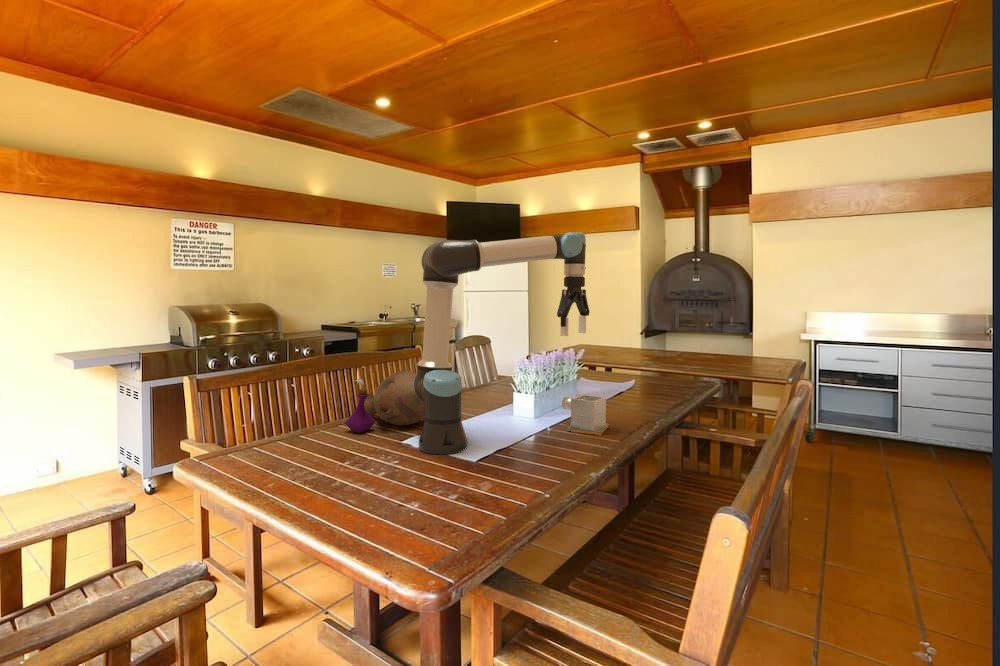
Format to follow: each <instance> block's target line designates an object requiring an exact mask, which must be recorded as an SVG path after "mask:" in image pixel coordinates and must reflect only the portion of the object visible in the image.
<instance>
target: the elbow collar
mask: <svg viewBox="0 0 1000 666" xmlns="http://www.w3.org/2000/svg"><path fill="white" fill-rule="evenodd" d="M561 408H562V409H563V410H568V411H570V425H571V427H575V428H580V429H586V430H591V431H595V430H597V429H599V428H601V427H603V426H605V423H606V418H607V416H606V415H607V413H606V412H607V397H604V396H603V397H602V396H598V395H590V394H580V395H578V396H575V397H568V396H564V397H563V398H562V400H561ZM606 424H607V423H606Z"/></svg>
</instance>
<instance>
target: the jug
mask: <svg viewBox="0 0 1000 666" xmlns="http://www.w3.org/2000/svg"><path fill="white" fill-rule="evenodd" d="M416 374H417V372H413V371H408V370H399V371H396V372H394V373H392V374H390V375H388V376H387V377H385V378H384V379H383V380H382V381H381V382H380V383H379V384H378V386H377V387H376V390H375V392H374V395H373V394H369V396H367V397H366V399H365V401H364V408H365V410H366V412H367V413H368V414H369V415H370V416H371V417H372V416H374V415H378V416H379V417H380V420H384V421H385V422H387V423H389V424H391V425H394V426H395V425H396V426H409V425H412V424H415V423H417V422H420V421H421V420H424V403H423V401H421V400H420V399H419V398H418V397H417V395H416V393H415V391H414V386H413V383H414V378H415V376H416Z"/></svg>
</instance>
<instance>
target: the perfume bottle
mask: <svg viewBox="0 0 1000 666" xmlns="http://www.w3.org/2000/svg"><path fill="white" fill-rule="evenodd" d="M353 383H354V385H355V386H356V385H357V384H359V385H361V387H362V388H359V389H358V393H357V394H356V397H358V399H359V400H358V403H357V406H356V408H355V410H354V411H353V413H352V414H351V415H350V416H349V417H348V418H347V419H346V421H344V424H345V425H346V426H347V428H348V429H349V430H350V431H351V432H353V433H358V434H362V433H365V432H369V431H370V430H371V428H372V427H373V426H374V425H375V423H376V419H374V417H372V416H370V415H369V414H368V413H367V412H366V410H365V408H364V401H365V399H366V397H367V396H369V395H370V394H369V393H368V388H364V384H365V383H364V380H363V379H360V378H359V379H356V380H354V381H353Z"/></svg>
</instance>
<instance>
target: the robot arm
mask: <svg viewBox="0 0 1000 666" xmlns="http://www.w3.org/2000/svg"><path fill="white" fill-rule="evenodd" d="M586 247H587V244H586V234H585V233H584V232H580V231H579V232H577V231H575V232H574V231H573V232H572V231H571V232H566V233H565V234H559V235H558V234H556V235H555V234H554V235H544V236H543V235H542V236H535V237H526V238H525V237H523V238H516V239H515V238H514V239H504V240H494V241H492V240H491V241H485V242H484V241H483V242H482V241H481V242H479V241H477V239H470V240H469V239H468V240H460V239H459V240H458V239H457V240H455V239H445V240H441V241H436V242H434V243H431V244H429V246H427V247H426V248H425V250H424V252H423V253H422V255H421V268H422V270H423V273H422V283H423V285H425V287H426V298H425V312H424V313H425V315H424V326H423V327H424V329H423V344H422V359H421V360H419V361H418V362H417V364H416V376H415V378H414V383H413V386H414V391H415V393H416V395H417V397H418V398H419V399H420V400H421V401H423V403H424V418H423V420H424V421H423V422H424V423H423V427H422V429H421V432H420V436H419V438H418V449H419V450H420V451H421V452H423V453H426V454H430V455H431V454H432V455H451V453H452V454H457V453H460V452H462V451H461V450H463V449H465V448H466V447H467V448H468V438H467V434H466V432H465V428H464V425H463V420H462V419H463V418H462V417H463V414H462V409H463V407H462V406H463V405H462V398H463V396H462V395H463V394H462V392H463V391H462V390H463V381H462V377H461V375H460V374H459V373H458V372H456V371H453V365H452V364H451V362H450V361H449V353H450V352H449V350H450V338H451V337H450V335H451V322H452V309H453V296H454V295H453V292H454V289H455V288H456V287H457V286H458V285H459V277H460V276H459V275H462V274H466V273H472V272H473V273H474V272H479V271H480V270H481V269H482V268H485V267H486V268H487V267H494V266H503V265H510V264H511V265H512V264H521V263H527V262H536V261H544V260H545V261H546V260H564V261H563V262H564V265H563V266H564V267H563V268H564V270H563V275H564V278H563V287H566V289H562V290H561V296H560V300H559V301H560V302H559V305H558V308H557V312H556V316H557V318H560V330H559V331H560V333H559V334H560V336H561V337H568V336H569V317H568V315H569V313H570V310H571V308H572V306H573V304H575V305H576V308H577V310H578V312H579V315H578V334H586V333H587V316H589V315H590V306H589V303H588V299H587V298H588V297H587V290H586V289H585V288H584V287H585V286H586V277H585V275H586ZM583 288H584V289H583ZM467 448H466V449H467ZM466 449H465V450H466ZM459 451H460V452H459ZM463 451H464V450H463ZM456 452H457V453H456Z"/></svg>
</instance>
